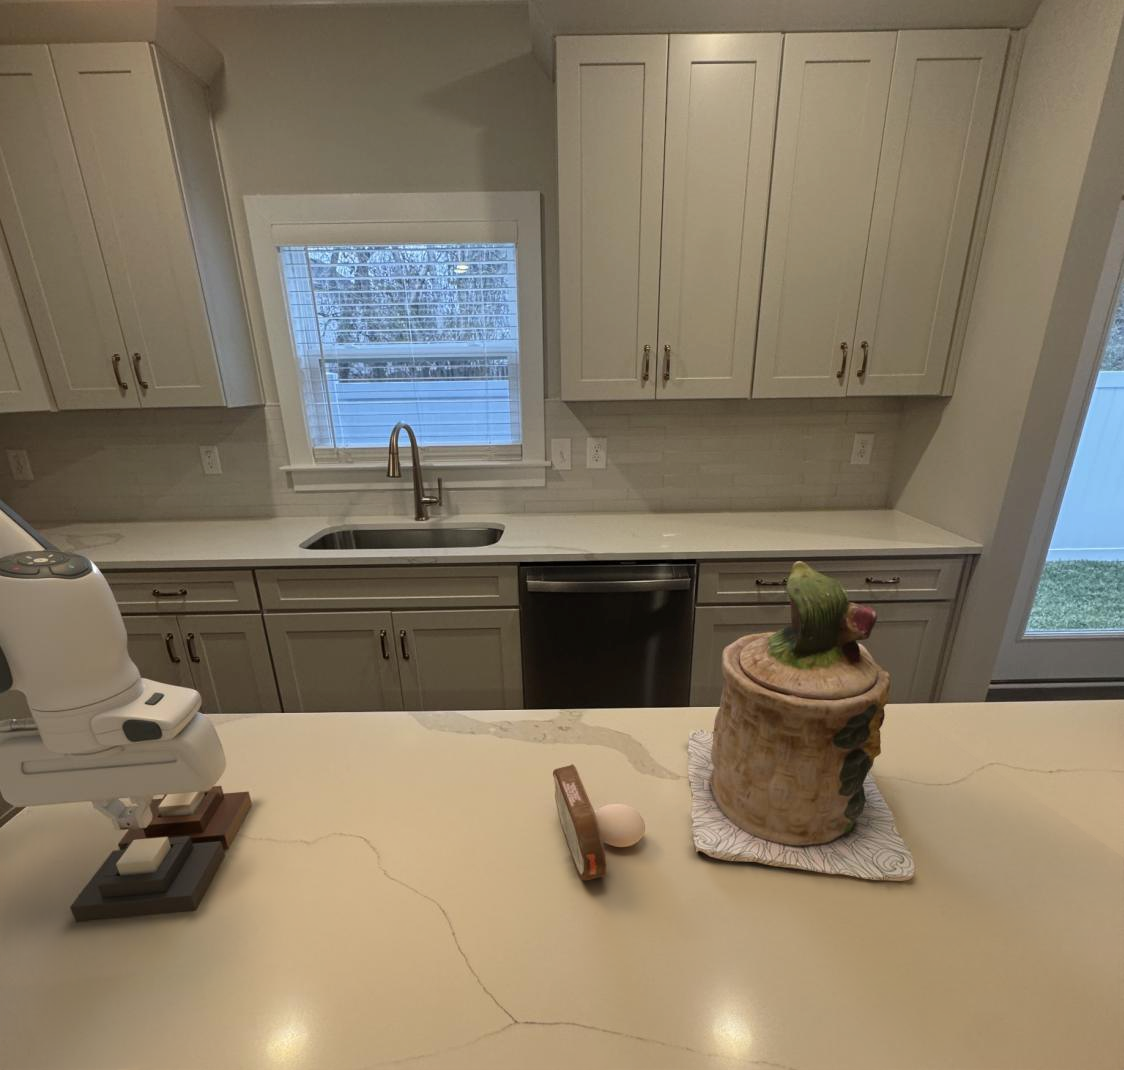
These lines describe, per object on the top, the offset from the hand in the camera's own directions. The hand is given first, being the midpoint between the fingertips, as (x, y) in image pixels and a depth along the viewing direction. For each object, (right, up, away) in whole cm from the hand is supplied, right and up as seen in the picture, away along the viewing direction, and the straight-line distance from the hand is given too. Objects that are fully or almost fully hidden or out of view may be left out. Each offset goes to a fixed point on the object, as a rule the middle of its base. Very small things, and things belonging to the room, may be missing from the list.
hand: (135, 825), depth 66 cm
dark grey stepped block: (0, -8, +3) cm, 9 cm away
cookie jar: (+75, -2, +15) cm, 76 cm away
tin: (+47, -6, +8) cm, 48 cm away
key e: (-1, -1, +10) cm, 10 cm away
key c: (0, -5, +2) cm, 5 cm away
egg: (+56, -3, +7) cm, 56 cm away
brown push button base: (-1, -5, +12) cm, 13 cm away
